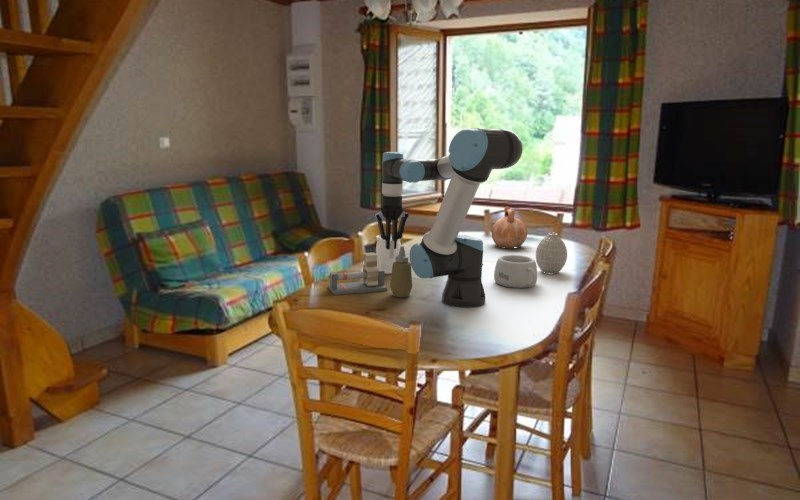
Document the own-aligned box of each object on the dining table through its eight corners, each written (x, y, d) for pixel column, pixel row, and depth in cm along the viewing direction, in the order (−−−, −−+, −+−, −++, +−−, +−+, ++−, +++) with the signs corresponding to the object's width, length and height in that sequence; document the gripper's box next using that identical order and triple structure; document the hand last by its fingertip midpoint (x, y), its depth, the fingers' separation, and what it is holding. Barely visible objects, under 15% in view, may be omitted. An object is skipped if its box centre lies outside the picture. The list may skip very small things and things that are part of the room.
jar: (397, 275, 229) (398, 239, 226) (373, 273, 231) (373, 237, 228) (402, 269, 239) (403, 234, 236) (379, 267, 241) (379, 233, 238)
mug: (485, 279, 226) (486, 255, 224) (520, 276, 232) (521, 252, 230) (516, 294, 207) (518, 268, 205) (553, 290, 213) (555, 264, 211)
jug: (530, 251, 279) (533, 211, 275) (493, 250, 279) (495, 210, 275) (522, 243, 297) (525, 205, 293) (488, 242, 297) (490, 204, 293)
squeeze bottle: (404, 300, 197) (406, 250, 193) (385, 296, 202) (386, 247, 198) (416, 294, 204) (417, 246, 200) (397, 290, 208) (398, 243, 204)
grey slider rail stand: (387, 290, 208) (387, 273, 207) (333, 294, 202) (333, 277, 200) (379, 283, 217) (379, 266, 216) (327, 287, 211) (327, 270, 209)
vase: (528, 272, 239) (531, 233, 235) (543, 266, 248) (546, 229, 245) (556, 278, 231) (559, 238, 227) (570, 272, 240) (574, 233, 236)
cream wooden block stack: (378, 285, 208) (378, 255, 206) (367, 286, 207) (367, 256, 205) (372, 280, 215) (373, 251, 212) (362, 281, 213) (362, 252, 211)
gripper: (405, 193, 212) (403, 254, 217) (372, 193, 208) (371, 256, 213) (412, 195, 205) (410, 258, 210) (378, 196, 201) (377, 260, 206)
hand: (390, 257), depth 212 cm, fingers closed
